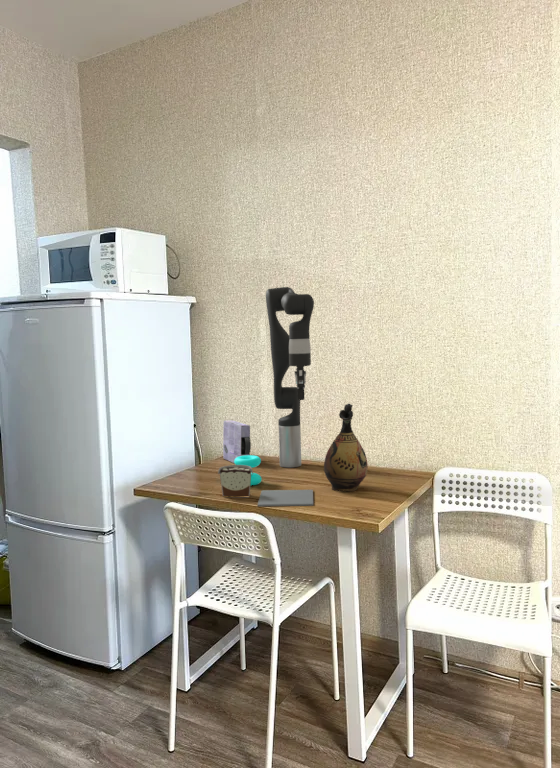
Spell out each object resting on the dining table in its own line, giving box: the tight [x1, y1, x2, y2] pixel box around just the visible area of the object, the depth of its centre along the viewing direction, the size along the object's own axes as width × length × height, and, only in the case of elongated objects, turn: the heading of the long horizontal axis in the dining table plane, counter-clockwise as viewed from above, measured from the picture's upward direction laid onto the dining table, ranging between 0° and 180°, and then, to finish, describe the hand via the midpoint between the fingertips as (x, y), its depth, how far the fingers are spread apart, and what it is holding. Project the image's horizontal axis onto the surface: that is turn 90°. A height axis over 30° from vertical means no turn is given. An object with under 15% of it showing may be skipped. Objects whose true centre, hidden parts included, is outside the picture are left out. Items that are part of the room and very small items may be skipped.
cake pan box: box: [222, 419, 252, 464], centre depth 266 cm, size 19×5×18 cm, turn 30°
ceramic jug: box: [323, 403, 369, 493], centre depth 216 cm, size 17×15×30 cm
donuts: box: [233, 454, 263, 487], centre depth 227 cm, size 10×10×10 cm
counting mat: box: [257, 489, 314, 507], centre depth 205 cm, size 18×18×1 cm
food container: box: [217, 464, 254, 497], centre depth 211 cm, size 12×6×10 cm, turn 80°
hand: (300, 398), depth 212 cm, fingers open, 8 cm apart
